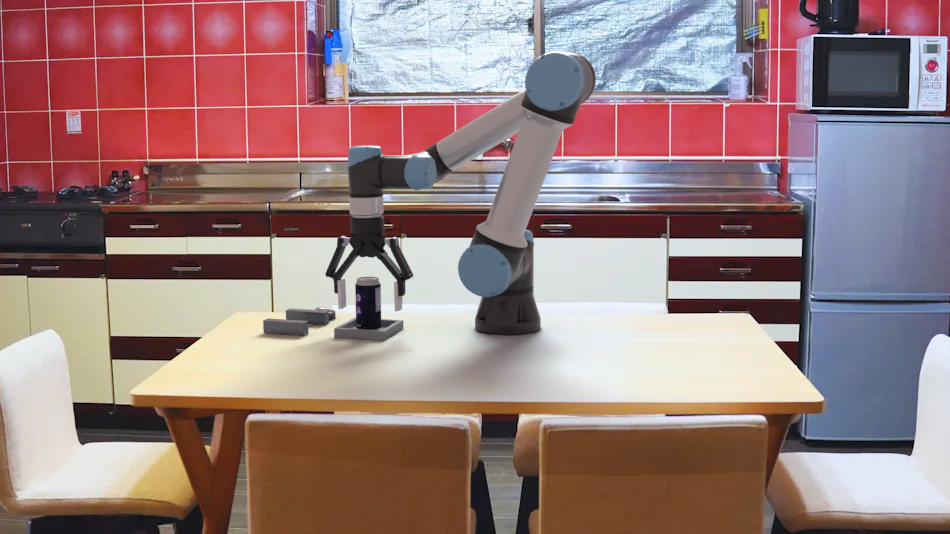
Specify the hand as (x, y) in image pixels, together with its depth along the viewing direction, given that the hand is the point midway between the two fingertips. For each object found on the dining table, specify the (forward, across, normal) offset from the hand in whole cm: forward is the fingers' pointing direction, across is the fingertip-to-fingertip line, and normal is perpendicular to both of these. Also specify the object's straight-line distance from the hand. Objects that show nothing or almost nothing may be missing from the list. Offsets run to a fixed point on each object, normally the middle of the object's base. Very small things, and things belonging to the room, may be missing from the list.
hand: (370, 309), depth 249 cm
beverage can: (+5, 0, 0) cm, 5 cm away
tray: (+5, 0, 0) cm, 6 cm away
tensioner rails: (+5, +18, -4) cm, 20 cm away
